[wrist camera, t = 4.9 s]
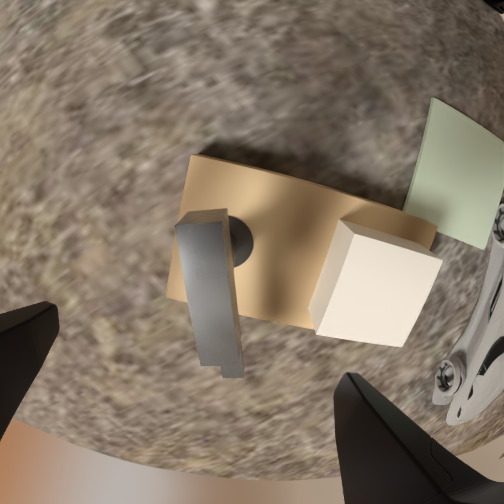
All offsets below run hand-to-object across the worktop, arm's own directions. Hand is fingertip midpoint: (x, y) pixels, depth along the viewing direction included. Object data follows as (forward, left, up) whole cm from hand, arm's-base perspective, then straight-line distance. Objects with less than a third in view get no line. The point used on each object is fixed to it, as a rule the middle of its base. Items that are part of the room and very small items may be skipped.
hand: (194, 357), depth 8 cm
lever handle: (-1, +2, -10) cm, 10 cm away
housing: (-5, 0, -12) cm, 13 cm away
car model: (-27, +2, -13) cm, 30 cm away
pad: (-16, -9, -12) cm, 22 cm away
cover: (-9, 0, -10) cm, 14 cm away
